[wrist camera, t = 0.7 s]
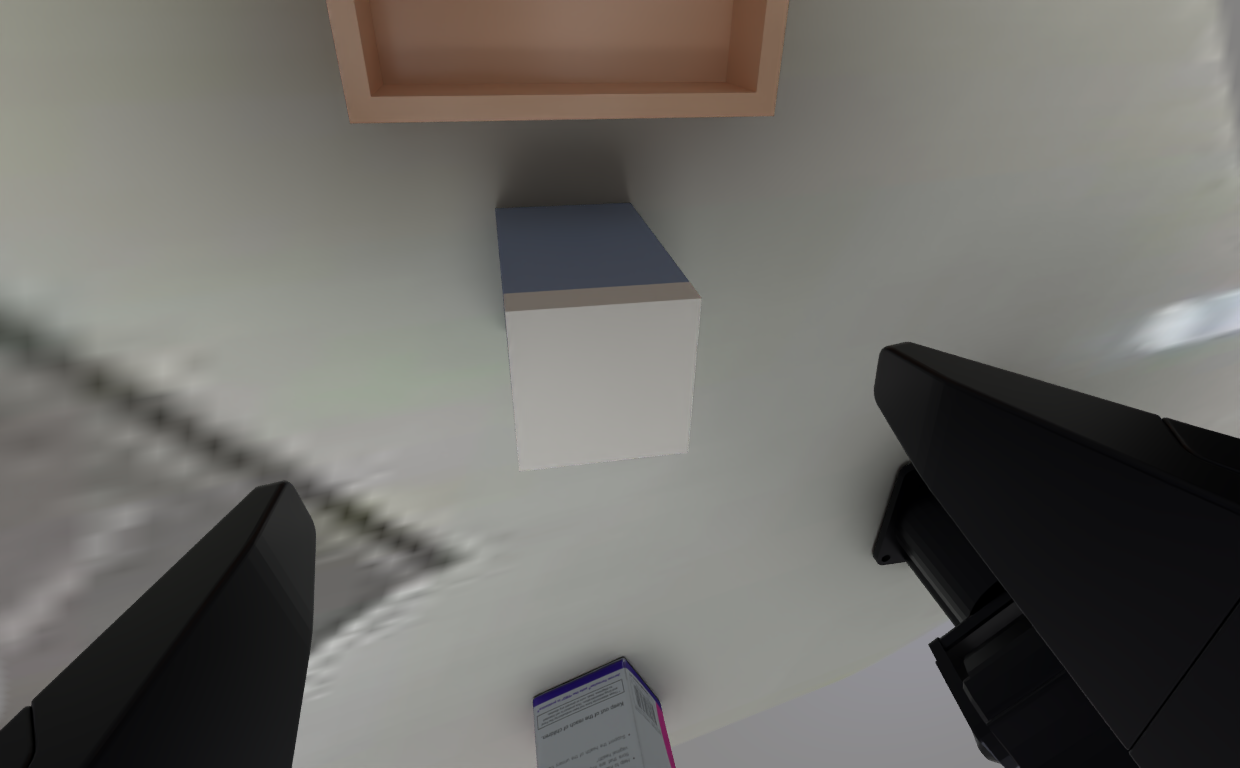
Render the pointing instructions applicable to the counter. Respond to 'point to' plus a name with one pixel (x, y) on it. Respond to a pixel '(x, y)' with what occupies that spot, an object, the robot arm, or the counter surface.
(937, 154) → the counter surface
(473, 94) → the bin
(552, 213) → the block
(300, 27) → the counter surface
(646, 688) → the supplement box
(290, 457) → the counter surface
